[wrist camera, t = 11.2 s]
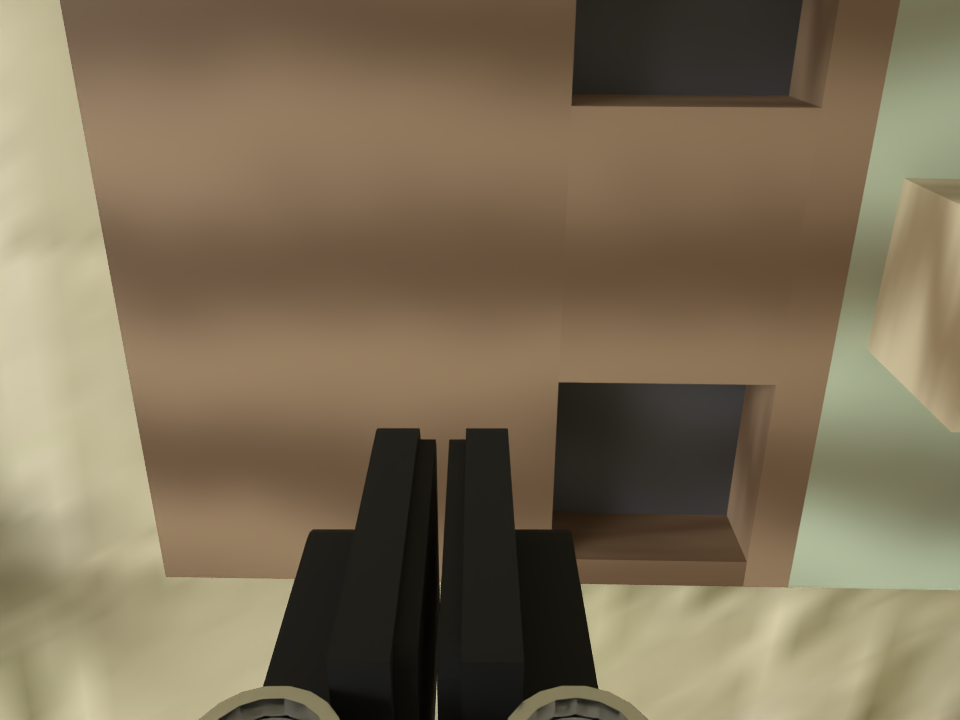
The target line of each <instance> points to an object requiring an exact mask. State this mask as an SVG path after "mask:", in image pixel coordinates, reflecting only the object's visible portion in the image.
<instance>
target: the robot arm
mask: <svg viewBox="0 0 960 720" xmlns="http://www.w3.org/2000/svg"><path fill="white" fill-rule="evenodd" d="M436 686H437V696H438V720H648V719H647V718H646V717H645V716H644V715H643V714H642V713H641V712H640V711H639V710H637V709H636V708H635V707H634V706H633V705H632V704H631V703H629V702H627V701H626V700H624V699H622V698H620V697H618V696H616V695H614V694H612V693H610V692H608V691H604V690H600V689H598V685H597V679H596V673H595V667H594V661H593V655H592V650H591V644H590V638H589V632H588V626H587V620H586V614H585V608H584V602H583V597H582V591H581V585H580V579H579V573H578V567H577V561H576V555H575V549H574V544H573V538H572V534H571V531H570V530H569V529H515V522H514V508H513V494H512V479H511V465H510V451H509V436H508V428H466V439H449V451H448V469H447V487H446V505H445V523H444V540H443V558H442V576H441V594H440V585H439V538H438V490H437V446H436V439H421V435H420V428H377V430H376V433H375V438H374V442H373V447H372V452H371V456H370V461H369V466H368V470H367V475H366V480H365V484H364V489H363V494H362V498H361V503H360V508H359V512H358V517H357V522H356V526H355V529H313V530H312V531H310V533H309V535H308V538H307V540H306V543H305V547H304V550H303V553H302V557H301V560H300V564H299V567H298V570H297V574H296V577H295V581H294V584H293V587H292V591H291V594H290V597H289V601H288V604H287V608H286V611H285V614H284V618H283V621H282V625H281V628H280V631H279V635H278V638H277V641H276V645H275V648H274V652H273V655H272V658H271V662H270V665H269V669H268V672H267V675H266V679H265V682H264V685H263V687H261V688H257V689H253V690H248V691H244V692H241V693H239V694H237V695H235V696H233V697H231V698H229V699H227V700H225V701H223V702H221V703H219V704H217V705H216V706H215V707H214V708H213V709H211V710H210V711H209V712H208V713H206V714H205V715H204V716H203V717H201V718H200V719H199V720H435V704H436Z"/></svg>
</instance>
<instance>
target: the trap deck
mask: <svg viewBox="0 0 960 720" xmlns="http://www.w3.org/2000/svg"><path fill="white" fill-rule="evenodd" d="M60 4H61V9H62V15H63V20H64V26H65V31H66V36H67V42H68V47H69V53H70V58H71V64H72V69H73V75H74V80H75V85H76V91H77V96H78V102H79V107H80V113H81V118H82V123H83V129H84V134H85V140H86V145H87V151H88V156H89V161H90V167H91V172H92V178H93V183H94V189H95V194H96V199H97V205H98V210H99V216H100V221H101V227H102V232H103V237H104V243H105V248H106V254H107V259H108V265H109V270H110V275H111V281H112V286H113V292H114V297H115V303H116V308H117V313H118V319H119V324H120V330H121V335H122V341H123V346H124V351H125V357H126V362H127V368H128V373H129V379H130V384H131V390H132V395H133V400H134V406H135V411H136V417H137V422H138V428H139V433H140V438H141V444H142V449H143V455H144V460H145V466H146V471H147V476H148V482H149V487H150V493H151V498H152V504H153V509H154V514H155V520H156V525H157V531H158V536H159V542H160V547H161V552H162V558H163V563H164V569H165V574H166V577H212V578H271V579H295V577H296V574H297V570H298V567H299V564H300V560H301V557H302V553H303V550H304V547H305V543H306V540H307V538H308V535H309V533H310V531H312V530H313V529H355V526H356V522H357V517H358V512H359V508H360V503H361V498H362V494H363V489H364V484H365V480H366V475H367V470H368V466H369V461H370V456H371V452H372V447H373V442H374V438H375V433H376V430H377V428H420V435H421V439H436V446H437V490H438V538H439V581H441V576H442V558H443V540H444V523H445V505H446V487H447V469H448V451H449V439H466V428H508V436H509V451H510V465H511V479H512V494H513V508H514V522H515V529H569V530H570V531H571V534H572V538H573V544H574V549H575V555H576V561H577V567H578V573H579V579H580V584H628V585H688V586H747V587H807V588H866V589H926V590H960V432H951V431H950V430H949V429H947V428H946V427H945V426H944V425H943V424H942V423H941V422H940V421H939V420H938V419H937V418H936V417H935V416H934V415H933V414H932V413H931V412H930V411H929V410H928V409H927V408H926V407H925V406H924V405H923V404H922V403H921V402H920V401H919V400H918V399H917V398H916V397H915V396H914V395H913V394H912V393H911V392H910V391H909V390H908V389H907V388H906V387H905V386H904V385H903V384H902V383H901V382H900V381H899V380H898V379H897V378H896V377H895V376H894V375H893V374H892V373H891V372H889V371H888V370H887V369H886V368H885V367H884V366H883V365H882V364H881V363H880V362H879V361H878V360H877V359H876V358H875V357H874V356H873V355H872V354H871V353H870V352H869V351H868V350H867V347H868V342H869V338H870V333H871V328H872V324H873V319H874V315H875V310H876V305H877V301H878V296H879V291H880V287H881V282H882V278H883V273H884V268H885V264H886V259H887V254H888V250H889V245H890V241H891V236H892V231H893V227H894V222H895V217H896V213H897V208H898V204H899V199H900V194H901V190H902V185H903V180H904V178H918V179H960V0H60Z"/></svg>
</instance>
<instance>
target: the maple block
mask: <svg viewBox="0 0 960 720" xmlns="http://www.w3.org/2000/svg"><path fill="white" fill-rule="evenodd" d="M867 350H868V351H869V352H870V353H871V354H872V355H873V356H874V357H875V358H876V359H877V360H878V361H879V362H880V363H881V364H882V365H883V366H884V367H885V368H886V369H887V370H888V371H889V372H891V373H892V374H893V375H894V376H895V377H896V378H897V379H898V380H899V381H900V382H901V383H902V384H903V385H904V386H905V387H906V388H907V389H908V390H909V391H910V392H911V393H912V394H913V395H914V396H915V397H916V398H917V399H918V400H919V401H920V402H921V403H922V404H923V405H924V406H925V407H926V408H927V409H928V410H929V411H930V412H931V413H932V414H933V415H934V416H935V417H936V418H937V419H938V420H939V421H940V422H941V423H942V424H943V425H944V426H945V427H946V428H947V429H949V430H950V431H951V432H960V179H918V178H904V180H903V185H902V190H901V194H900V199H899V204H898V208H897V213H896V217H895V222H894V227H893V231H892V236H891V241H890V245H889V250H888V254H887V259H886V264H885V268H884V273H883V278H882V282H881V287H880V291H879V296H878V301H877V305H876V310H875V315H874V319H873V324H872V328H871V333H870V338H869V342H868V347H867Z"/></svg>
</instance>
